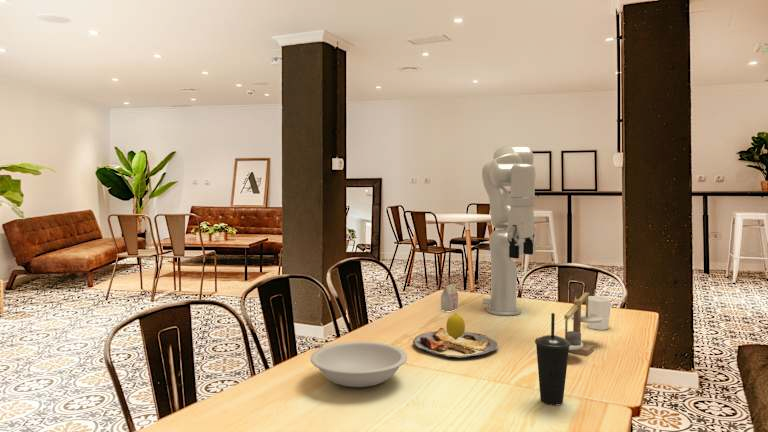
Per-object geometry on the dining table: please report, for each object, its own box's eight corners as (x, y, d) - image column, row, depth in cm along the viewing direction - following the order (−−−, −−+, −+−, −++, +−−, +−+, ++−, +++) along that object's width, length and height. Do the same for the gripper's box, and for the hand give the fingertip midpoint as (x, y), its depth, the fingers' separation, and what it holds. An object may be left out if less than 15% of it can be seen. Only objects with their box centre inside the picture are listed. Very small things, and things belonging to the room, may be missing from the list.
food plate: (398, 347, 160) (398, 336, 159) (444, 332, 177) (444, 322, 176) (467, 369, 143) (468, 356, 142) (511, 350, 160) (511, 338, 159)
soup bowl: (373, 409, 115) (373, 380, 115) (290, 387, 128) (289, 360, 127) (424, 375, 135) (424, 350, 135) (348, 359, 148) (348, 336, 148)
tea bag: (440, 311, 204) (441, 285, 204) (449, 307, 210) (449, 283, 209) (449, 312, 202) (449, 286, 202) (457, 309, 208) (458, 284, 207)
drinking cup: (528, 394, 123) (530, 309, 122) (560, 393, 123) (562, 309, 122) (541, 408, 115) (543, 318, 114) (575, 407, 116) (577, 317, 115)
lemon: (466, 337, 161) (466, 312, 161) (462, 342, 156) (463, 316, 156) (448, 336, 163) (448, 310, 163) (444, 341, 158) (444, 314, 157)
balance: (544, 359, 148) (544, 303, 147) (576, 337, 169) (577, 288, 168) (576, 365, 142) (577, 307, 141) (605, 342, 163) (607, 291, 162)
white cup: (606, 324, 184) (606, 296, 184) (613, 330, 176) (614, 301, 176) (582, 324, 185) (583, 295, 184) (589, 330, 177) (589, 300, 177)
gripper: (523, 201, 177) (522, 251, 179) (498, 203, 164) (497, 258, 166) (545, 202, 172) (543, 254, 174) (520, 204, 159) (519, 260, 161)
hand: (521, 256), depth 170 cm, fingers open, 9 cm apart
